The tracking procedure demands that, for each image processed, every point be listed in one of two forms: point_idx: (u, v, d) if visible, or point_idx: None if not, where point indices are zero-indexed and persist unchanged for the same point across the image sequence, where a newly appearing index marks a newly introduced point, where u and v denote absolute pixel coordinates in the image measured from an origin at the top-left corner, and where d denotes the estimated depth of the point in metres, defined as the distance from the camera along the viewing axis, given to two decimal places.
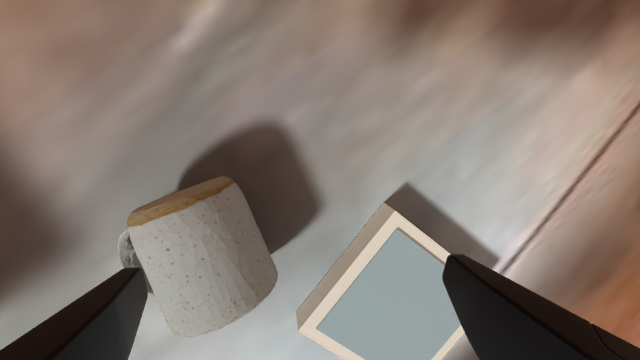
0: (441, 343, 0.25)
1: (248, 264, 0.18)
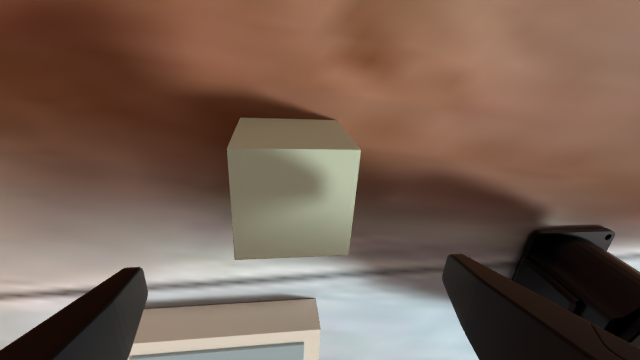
0: (226, 354, 0.18)
1: None
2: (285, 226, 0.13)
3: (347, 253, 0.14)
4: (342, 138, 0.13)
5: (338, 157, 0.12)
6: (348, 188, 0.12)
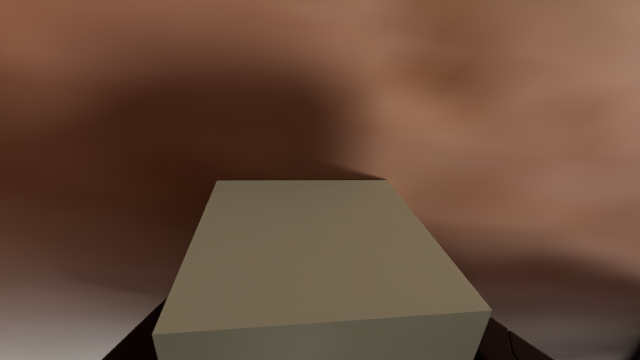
0: None
1: None
2: None
3: None
4: (425, 252, 0.06)
5: (438, 329, 0.05)
6: None
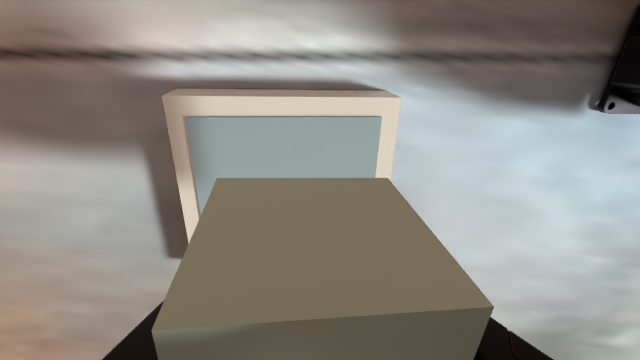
0: (294, 122, 0.16)
1: None
2: None
3: None
4: (425, 249, 0.06)
5: (439, 325, 0.05)
6: None
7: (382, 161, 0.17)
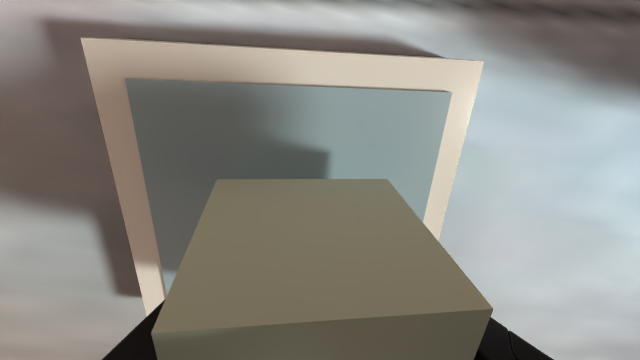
0: (311, 95, 0.09)
1: None
2: None
3: None
4: (425, 251, 0.06)
5: (438, 328, 0.05)
6: None
7: (442, 163, 0.11)
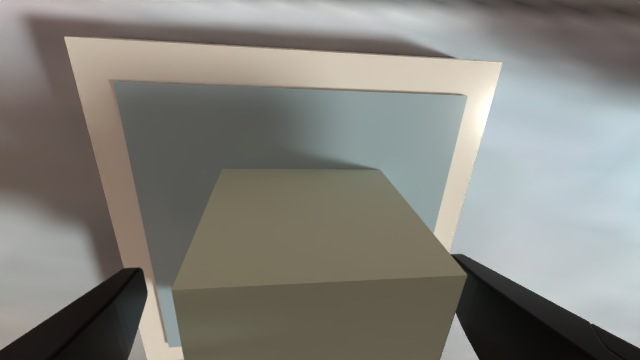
0: (316, 99, 0.09)
1: None
2: None
3: None
4: (411, 229, 0.07)
5: (419, 291, 0.05)
6: (430, 341, 0.06)
7: (455, 171, 0.11)
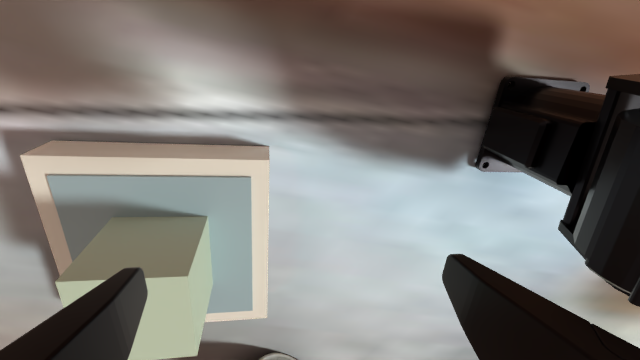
0: (161, 181, 0.16)
1: None
2: None
3: (195, 354, 0.15)
4: (185, 255, 0.14)
5: (167, 283, 0.13)
6: (183, 305, 0.14)
7: (258, 216, 0.18)
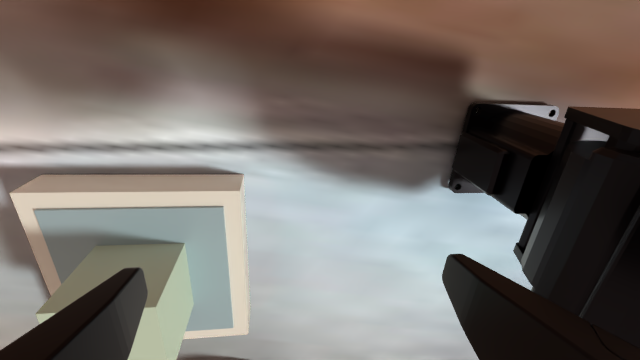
0: (139, 213, 0.17)
1: None
2: None
3: None
4: (157, 284, 0.15)
5: None
6: (153, 332, 0.15)
7: (232, 241, 0.19)
